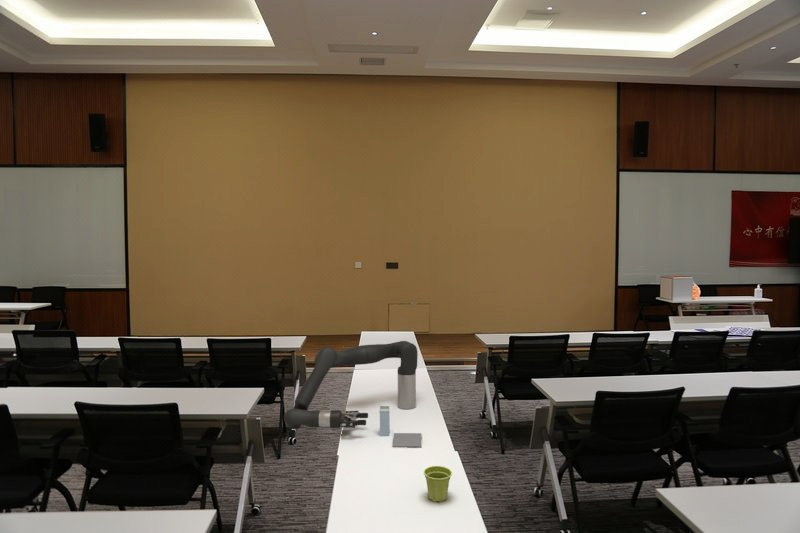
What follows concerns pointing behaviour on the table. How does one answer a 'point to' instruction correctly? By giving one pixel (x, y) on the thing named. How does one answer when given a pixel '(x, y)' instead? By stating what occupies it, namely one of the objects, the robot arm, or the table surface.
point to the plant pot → (437, 482)
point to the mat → (407, 440)
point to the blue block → (384, 421)
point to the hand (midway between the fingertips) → (367, 418)
